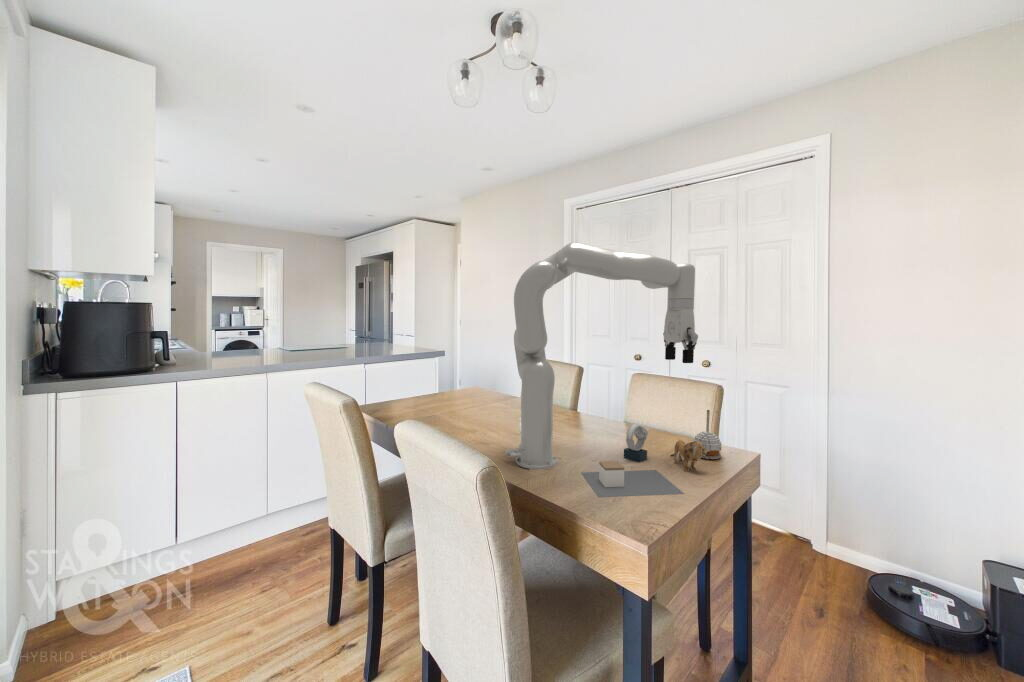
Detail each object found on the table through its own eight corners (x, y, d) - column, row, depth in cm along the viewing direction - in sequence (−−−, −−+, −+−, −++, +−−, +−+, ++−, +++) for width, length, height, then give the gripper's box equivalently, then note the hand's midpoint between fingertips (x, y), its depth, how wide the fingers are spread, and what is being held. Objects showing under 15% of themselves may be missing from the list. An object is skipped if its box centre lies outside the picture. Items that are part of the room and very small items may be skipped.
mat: (598, 498, 101) (598, 497, 101) (580, 473, 117) (580, 472, 117) (684, 495, 103) (684, 493, 103) (655, 471, 119) (655, 469, 119)
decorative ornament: (710, 452, 137) (712, 406, 136) (725, 460, 129) (727, 412, 128) (688, 452, 136) (690, 407, 135) (702, 461, 128) (703, 413, 127)
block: (605, 487, 107) (605, 468, 106) (599, 479, 112) (599, 461, 111) (623, 486, 107) (624, 467, 107) (617, 479, 112) (617, 460, 112)
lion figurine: (709, 474, 117) (710, 442, 117) (692, 475, 116) (693, 444, 116) (677, 457, 132) (678, 429, 131) (662, 458, 130) (663, 430, 130)
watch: (650, 458, 130) (651, 424, 129) (636, 465, 124) (637, 428, 123) (633, 454, 134) (634, 420, 133) (620, 460, 128) (621, 425, 127)
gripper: (654, 305, 135) (653, 358, 136) (685, 304, 118) (683, 364, 119) (676, 306, 136) (674, 358, 137) (709, 304, 119) (707, 364, 120)
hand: (678, 361), depth 128 cm, fingers open, 9 cm apart
